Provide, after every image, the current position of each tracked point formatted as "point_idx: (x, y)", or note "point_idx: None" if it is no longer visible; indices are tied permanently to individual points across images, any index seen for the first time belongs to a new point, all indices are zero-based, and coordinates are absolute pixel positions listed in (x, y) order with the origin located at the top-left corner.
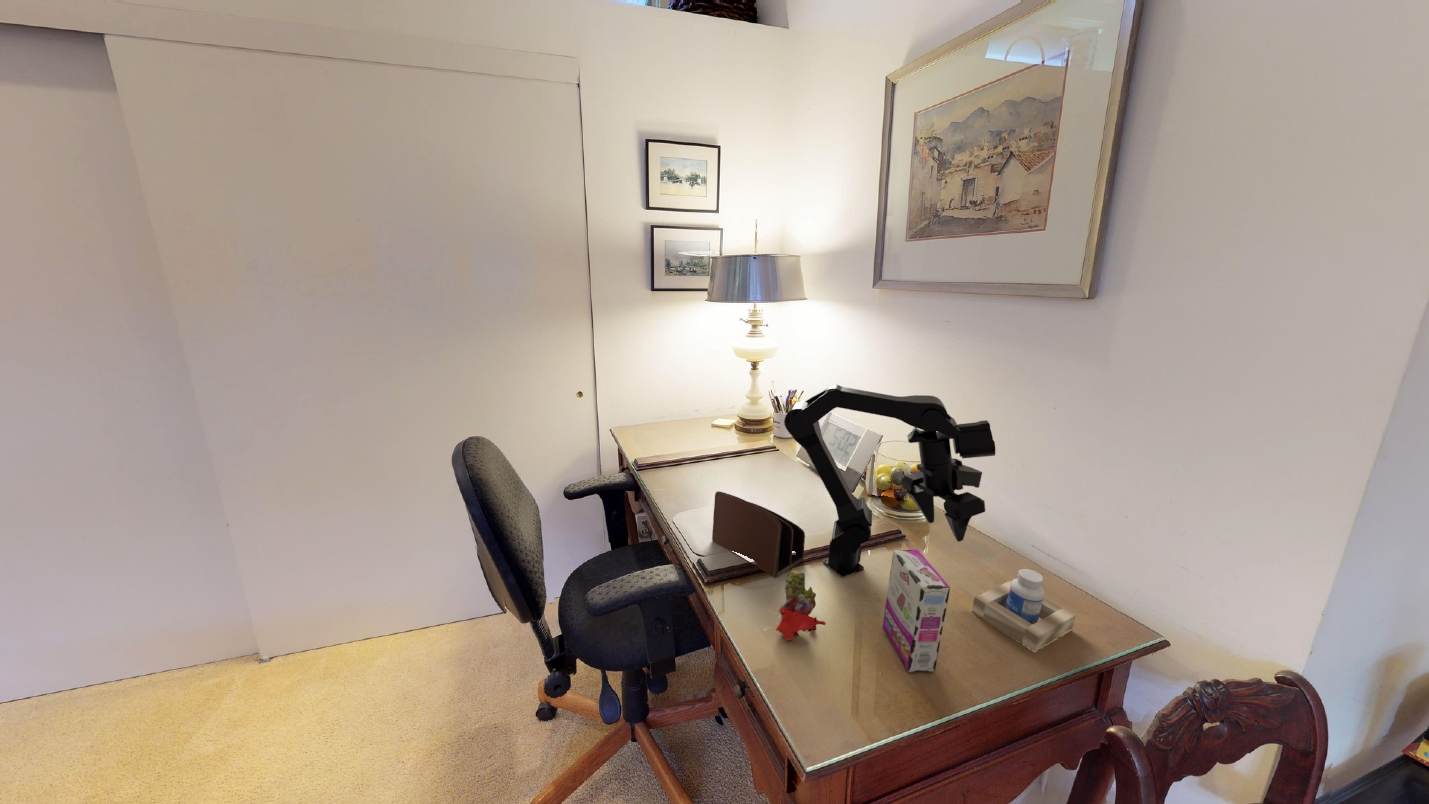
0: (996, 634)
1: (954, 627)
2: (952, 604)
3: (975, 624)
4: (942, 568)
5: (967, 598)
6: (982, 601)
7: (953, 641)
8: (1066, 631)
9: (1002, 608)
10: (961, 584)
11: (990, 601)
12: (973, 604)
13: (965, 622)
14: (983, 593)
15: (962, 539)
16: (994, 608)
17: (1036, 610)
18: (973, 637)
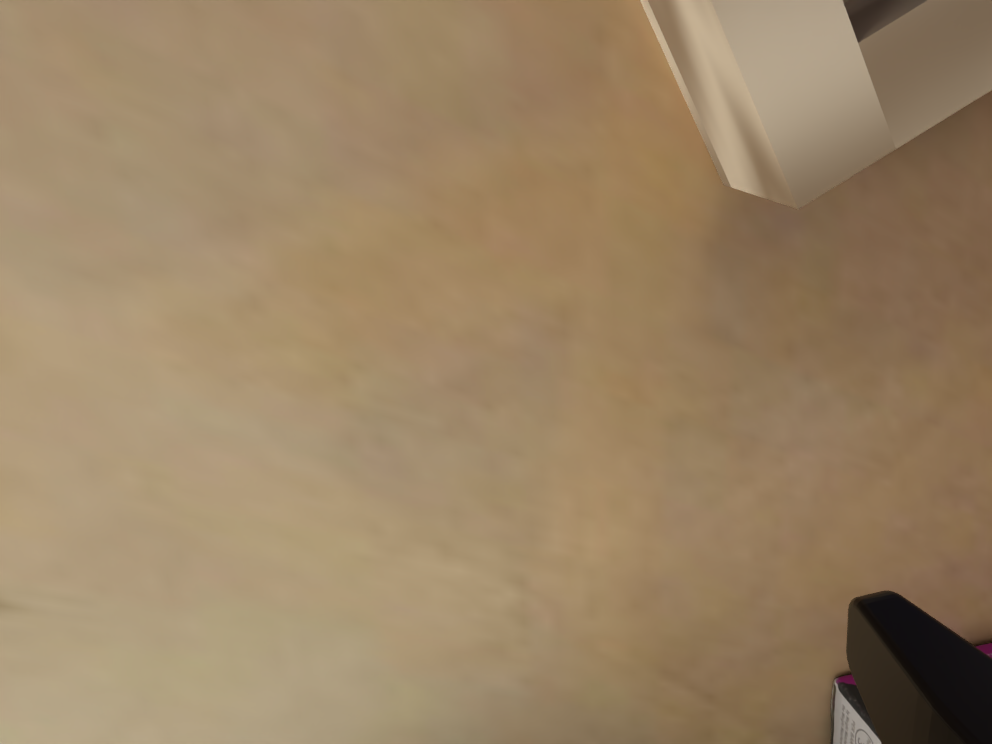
0: None
1: (865, 386)
2: (628, 308)
3: (853, 221)
4: (53, 191)
5: (549, 140)
6: (860, 162)
7: (976, 437)
8: None
9: (974, 11)
10: (334, 101)
11: (871, 80)
12: (761, 196)
13: (827, 288)
14: (754, 89)
15: (904, 612)
16: (960, 93)
17: None
18: (965, 294)
